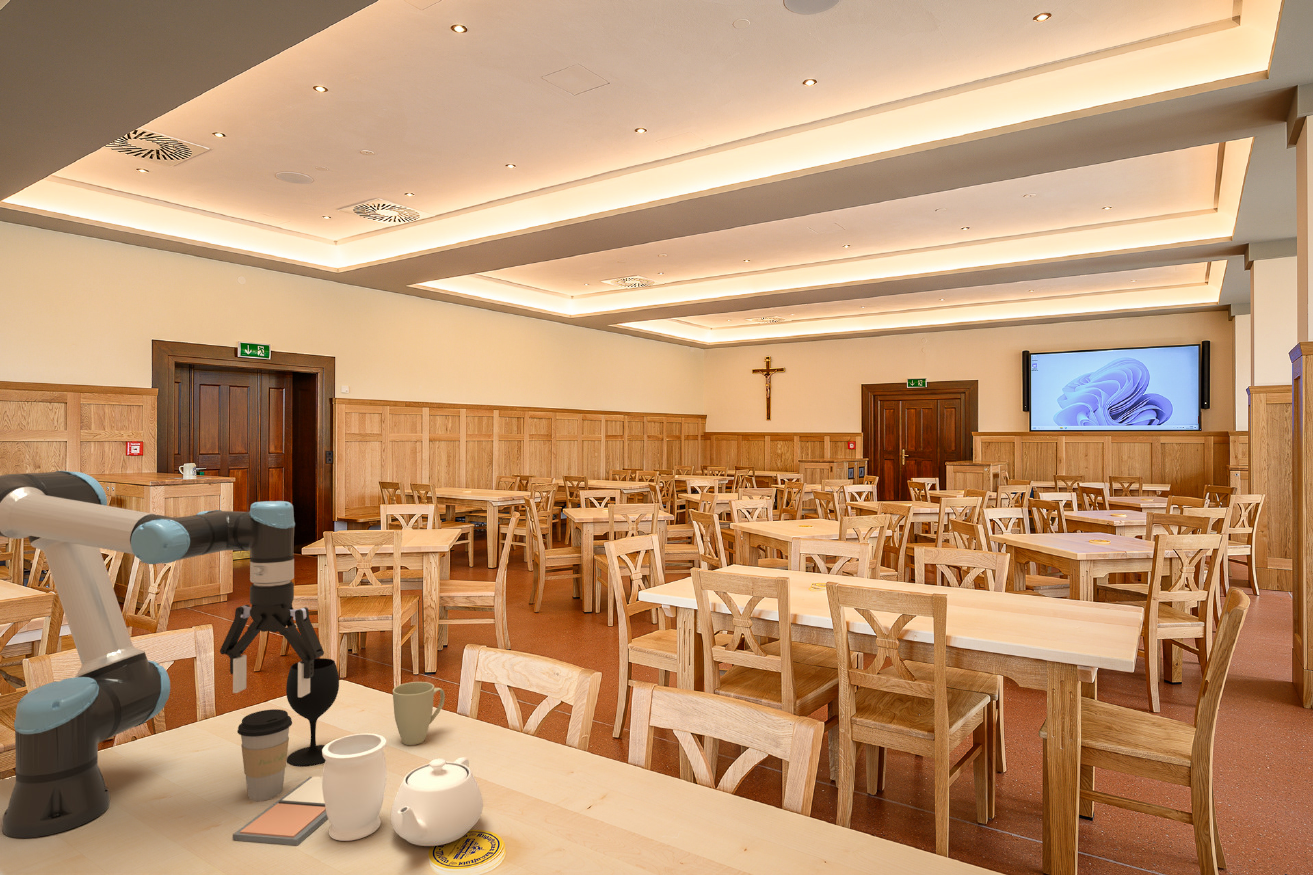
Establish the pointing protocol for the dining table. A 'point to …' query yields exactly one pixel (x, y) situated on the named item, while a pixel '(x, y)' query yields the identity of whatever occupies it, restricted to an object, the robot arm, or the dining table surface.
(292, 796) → the makeup palette
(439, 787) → the teapot
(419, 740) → the mug
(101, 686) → the robot arm
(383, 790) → the jar
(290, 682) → the wine glass
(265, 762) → the coffee cup
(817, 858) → the dining table surface
